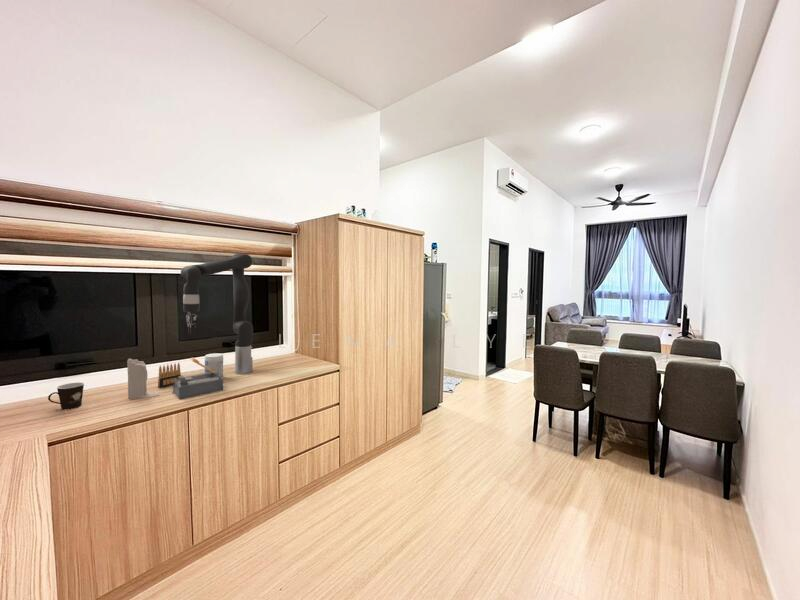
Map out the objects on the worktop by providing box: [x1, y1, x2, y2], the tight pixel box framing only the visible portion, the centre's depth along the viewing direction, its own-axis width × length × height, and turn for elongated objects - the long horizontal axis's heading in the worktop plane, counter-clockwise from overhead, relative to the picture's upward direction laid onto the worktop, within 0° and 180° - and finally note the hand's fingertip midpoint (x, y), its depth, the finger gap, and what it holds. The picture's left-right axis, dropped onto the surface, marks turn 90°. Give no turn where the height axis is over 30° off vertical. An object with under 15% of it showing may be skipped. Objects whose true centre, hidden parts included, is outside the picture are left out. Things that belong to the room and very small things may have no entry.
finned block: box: [172, 370, 224, 400], centre depth 173 cm, size 20×14×9 cm
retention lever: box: [190, 357, 216, 374], centre depth 174 cm, size 14×4×2 cm
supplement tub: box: [204, 352, 224, 379], centre depth 192 cm, size 10×10×15 cm
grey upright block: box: [126, 358, 163, 400], centre depth 164 cm, size 7×14×20 cm, turn 120°
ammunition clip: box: [157, 362, 182, 389], centre depth 180 cm, size 11×2×12 cm, turn 145°
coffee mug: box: [47, 381, 85, 411], centre depth 147 cm, size 12×9×10 cm
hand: (191, 333), depth 179 cm, fingers open, 3 cm apart
